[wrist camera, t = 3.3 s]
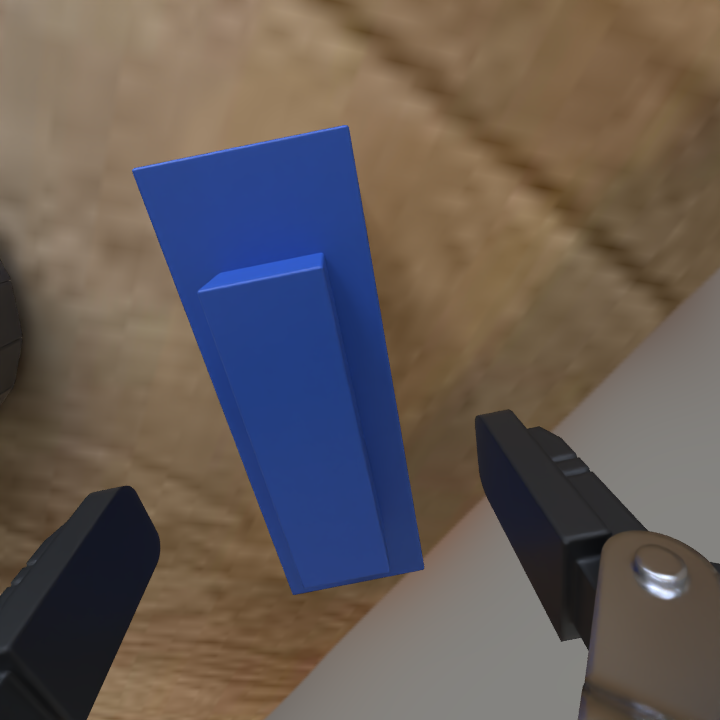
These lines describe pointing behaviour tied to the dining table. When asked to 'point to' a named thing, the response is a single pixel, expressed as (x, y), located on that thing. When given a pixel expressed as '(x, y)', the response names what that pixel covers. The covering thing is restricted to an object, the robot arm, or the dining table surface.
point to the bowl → (8, 335)
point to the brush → (294, 346)
